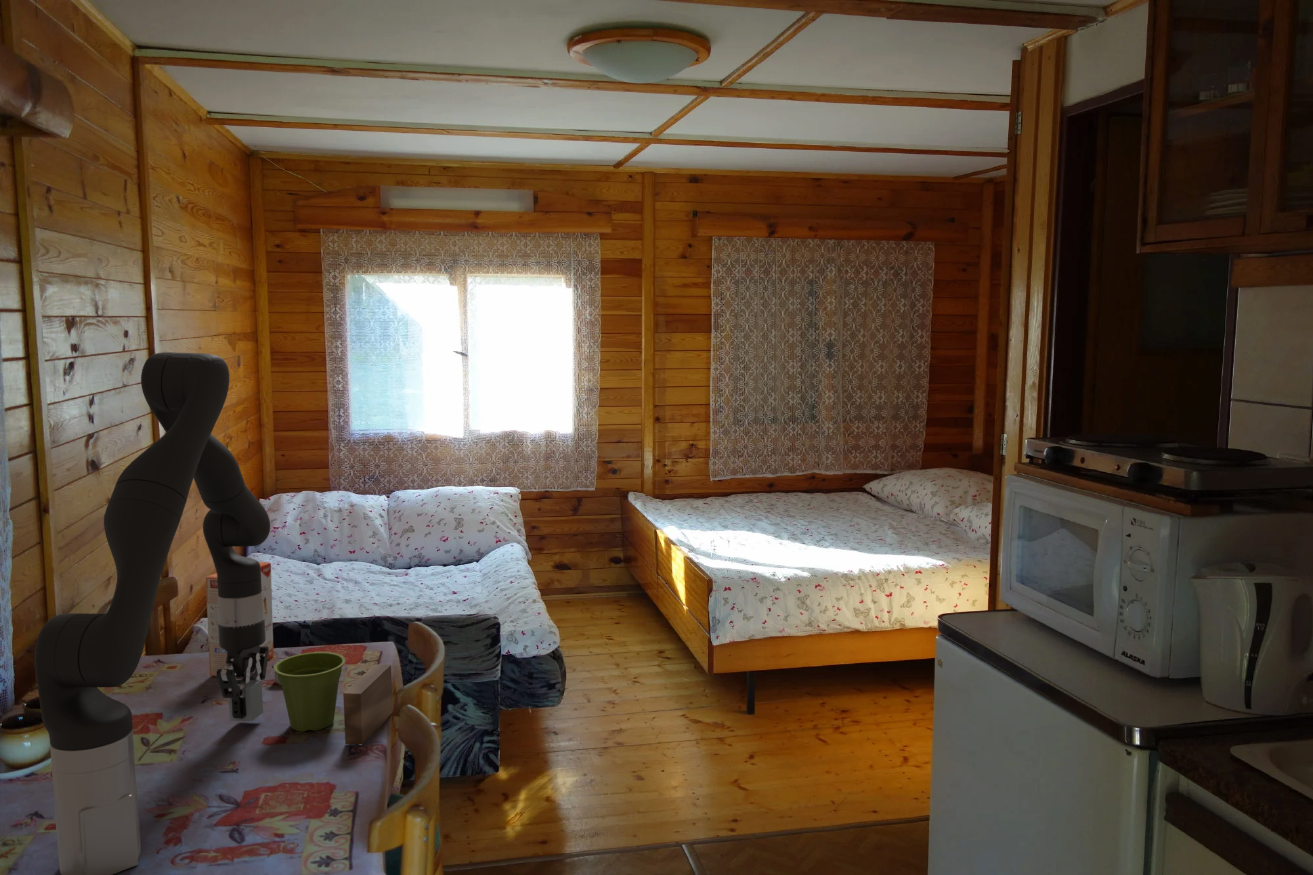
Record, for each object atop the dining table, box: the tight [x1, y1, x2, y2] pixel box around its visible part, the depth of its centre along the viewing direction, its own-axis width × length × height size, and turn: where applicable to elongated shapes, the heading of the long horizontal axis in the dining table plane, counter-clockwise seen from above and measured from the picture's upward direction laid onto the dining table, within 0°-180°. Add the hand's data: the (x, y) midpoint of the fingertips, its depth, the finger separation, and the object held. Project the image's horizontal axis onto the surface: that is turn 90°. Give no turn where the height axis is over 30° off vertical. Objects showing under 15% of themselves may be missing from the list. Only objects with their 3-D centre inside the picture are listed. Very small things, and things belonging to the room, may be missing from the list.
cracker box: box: [205, 561, 275, 677], centre depth 196 cm, size 14×6×21 cm, turn 168°
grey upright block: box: [228, 680, 264, 722], centre depth 168 cm, size 4×4×6 cm
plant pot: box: [273, 651, 346, 732], centre depth 167 cm, size 12×12×11 cm
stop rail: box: [342, 663, 394, 745], centre depth 166 cm, size 3×14×9 cm, turn 175°
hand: (246, 712), depth 168 cm, fingers closed on grey upright block, 3 cm apart
